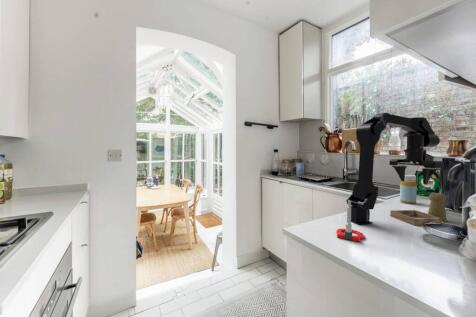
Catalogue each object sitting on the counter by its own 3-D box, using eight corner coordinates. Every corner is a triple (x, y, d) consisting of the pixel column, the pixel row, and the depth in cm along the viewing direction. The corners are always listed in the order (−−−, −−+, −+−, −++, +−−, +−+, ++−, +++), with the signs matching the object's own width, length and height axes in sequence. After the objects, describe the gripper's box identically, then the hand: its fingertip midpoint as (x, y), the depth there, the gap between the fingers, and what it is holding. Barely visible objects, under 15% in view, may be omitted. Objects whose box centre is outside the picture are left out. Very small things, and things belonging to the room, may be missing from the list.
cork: (440, 222, 84) (441, 195, 83) (423, 217, 90) (424, 192, 89) (450, 221, 85) (451, 194, 85) (433, 216, 91) (434, 191, 91)
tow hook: (338, 229, 78) (333, 237, 70) (339, 195, 78) (335, 199, 70) (364, 235, 73) (362, 243, 65) (365, 198, 73) (364, 202, 65)
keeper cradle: (414, 225, 80) (414, 219, 80) (390, 216, 92) (390, 210, 92) (441, 224, 81) (442, 218, 81) (414, 215, 93) (414, 209, 93)
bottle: (414, 202, 116) (415, 175, 115) (417, 204, 110) (418, 176, 109) (398, 200, 120) (399, 174, 119) (400, 203, 114) (401, 175, 113)
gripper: (455, 146, 83) (453, 185, 84) (406, 147, 102) (405, 179, 102) (434, 147, 81) (433, 187, 81) (388, 147, 99) (387, 180, 99)
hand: (413, 182), depth 91 cm, fingers open, 9 cm apart
